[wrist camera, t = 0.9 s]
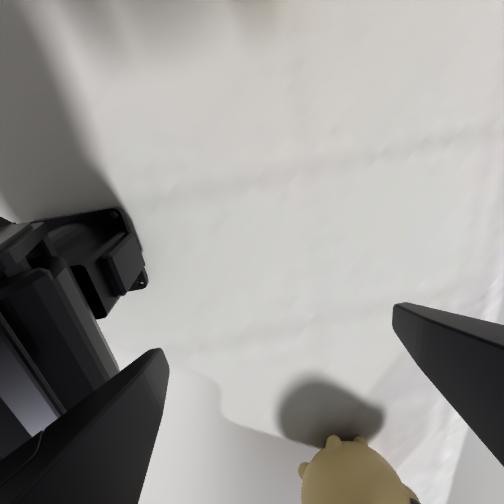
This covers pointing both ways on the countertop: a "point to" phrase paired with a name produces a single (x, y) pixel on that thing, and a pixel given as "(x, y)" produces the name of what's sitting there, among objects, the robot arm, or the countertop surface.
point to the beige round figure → (351, 476)
